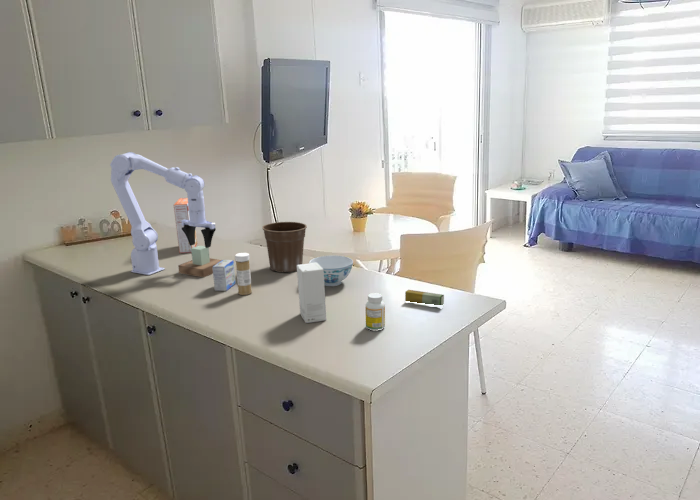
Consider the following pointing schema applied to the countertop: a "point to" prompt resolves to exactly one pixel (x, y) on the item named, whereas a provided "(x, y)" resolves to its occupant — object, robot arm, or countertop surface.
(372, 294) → the supplement bottle
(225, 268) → the medicine box
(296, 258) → the plant pot
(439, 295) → the medication box
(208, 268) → the walnut block
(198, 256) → the sage block
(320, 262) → the chinaware
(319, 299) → the skincare box
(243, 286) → the sprinkles bottle
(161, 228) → the countertop surface
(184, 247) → the cracker box
